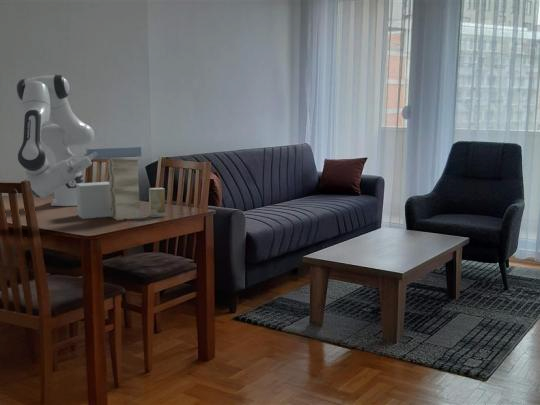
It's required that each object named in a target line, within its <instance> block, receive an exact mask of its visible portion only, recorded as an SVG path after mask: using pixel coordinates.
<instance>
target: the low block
mask: <svg viewBox="0 0 540 405" xmlns="http://www.w3.org/2000/svg"><path fill="white" fill-rule="evenodd" d="M76 193H77V206H76V207H77V208H76V209H77V216H78V217H79V218H81V219H82V220H83V219H94V218H97V217H98V218H106V217H107V218H109V217H111V206H110V185H109V181H101V182H100V181H97V182H82V183H79V184H76Z"/></svg>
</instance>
